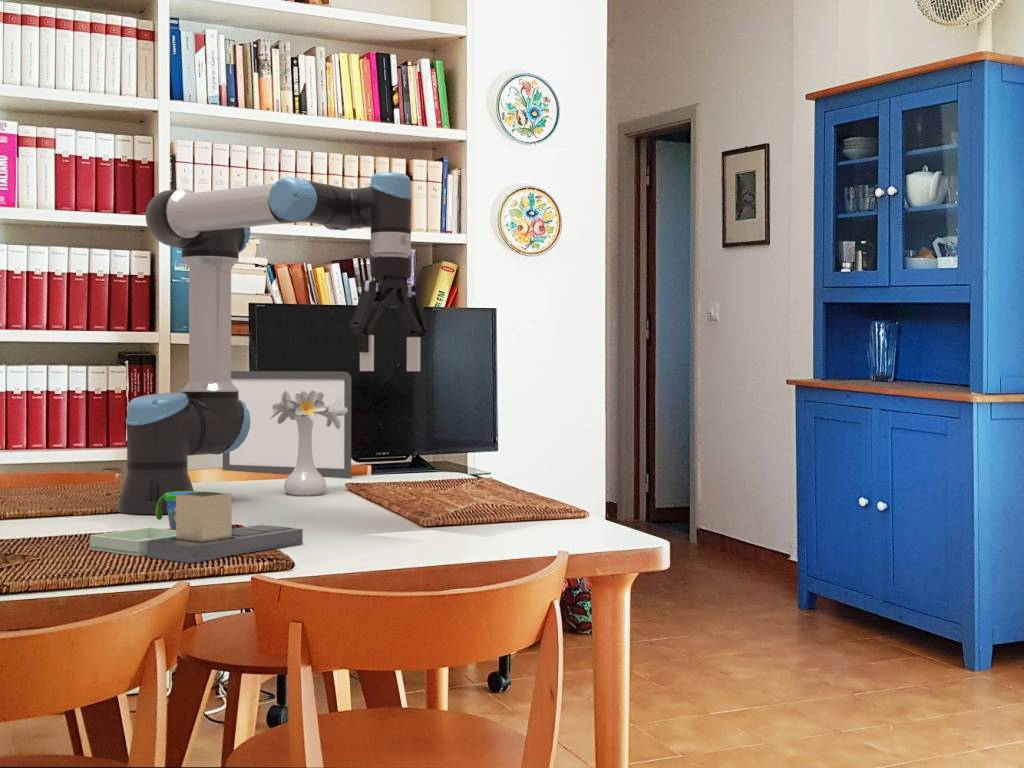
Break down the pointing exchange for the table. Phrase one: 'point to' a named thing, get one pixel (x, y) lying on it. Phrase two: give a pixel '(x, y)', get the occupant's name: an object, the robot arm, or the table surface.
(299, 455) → the flower vase
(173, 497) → the snack cup
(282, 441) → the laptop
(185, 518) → the square wooden post
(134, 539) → the parts tray
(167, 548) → the grey compartment tray
